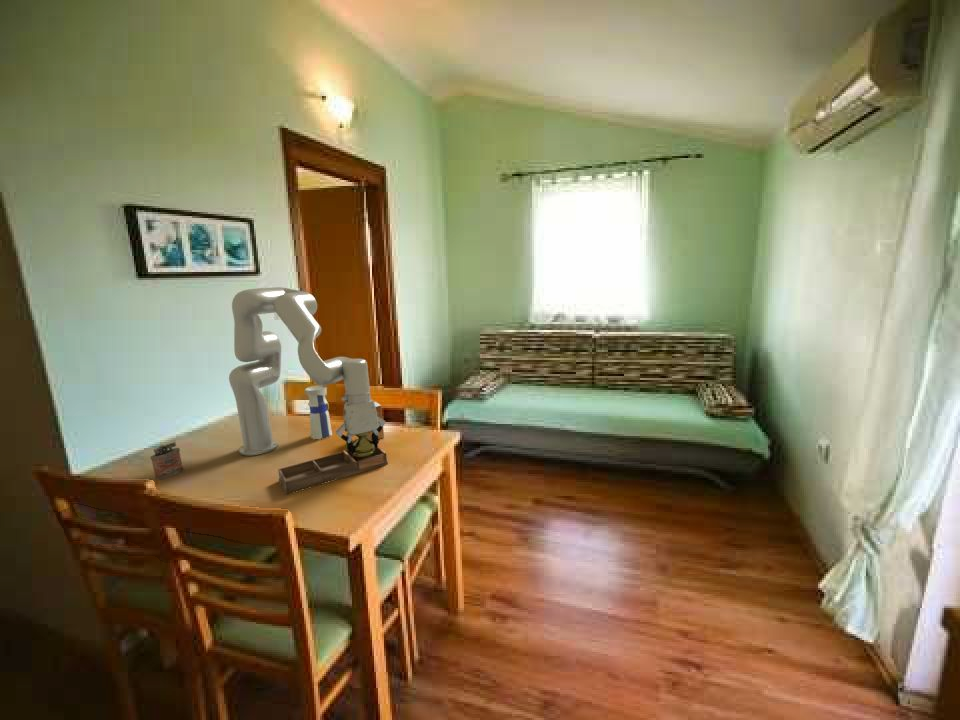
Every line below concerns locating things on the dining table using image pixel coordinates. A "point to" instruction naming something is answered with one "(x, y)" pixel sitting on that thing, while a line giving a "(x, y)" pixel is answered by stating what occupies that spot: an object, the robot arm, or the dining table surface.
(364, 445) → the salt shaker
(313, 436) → the water bottle
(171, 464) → the lighter
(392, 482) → the dining table surface
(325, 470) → the wooden compartment tray
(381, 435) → the small box
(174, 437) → the dining table surface
